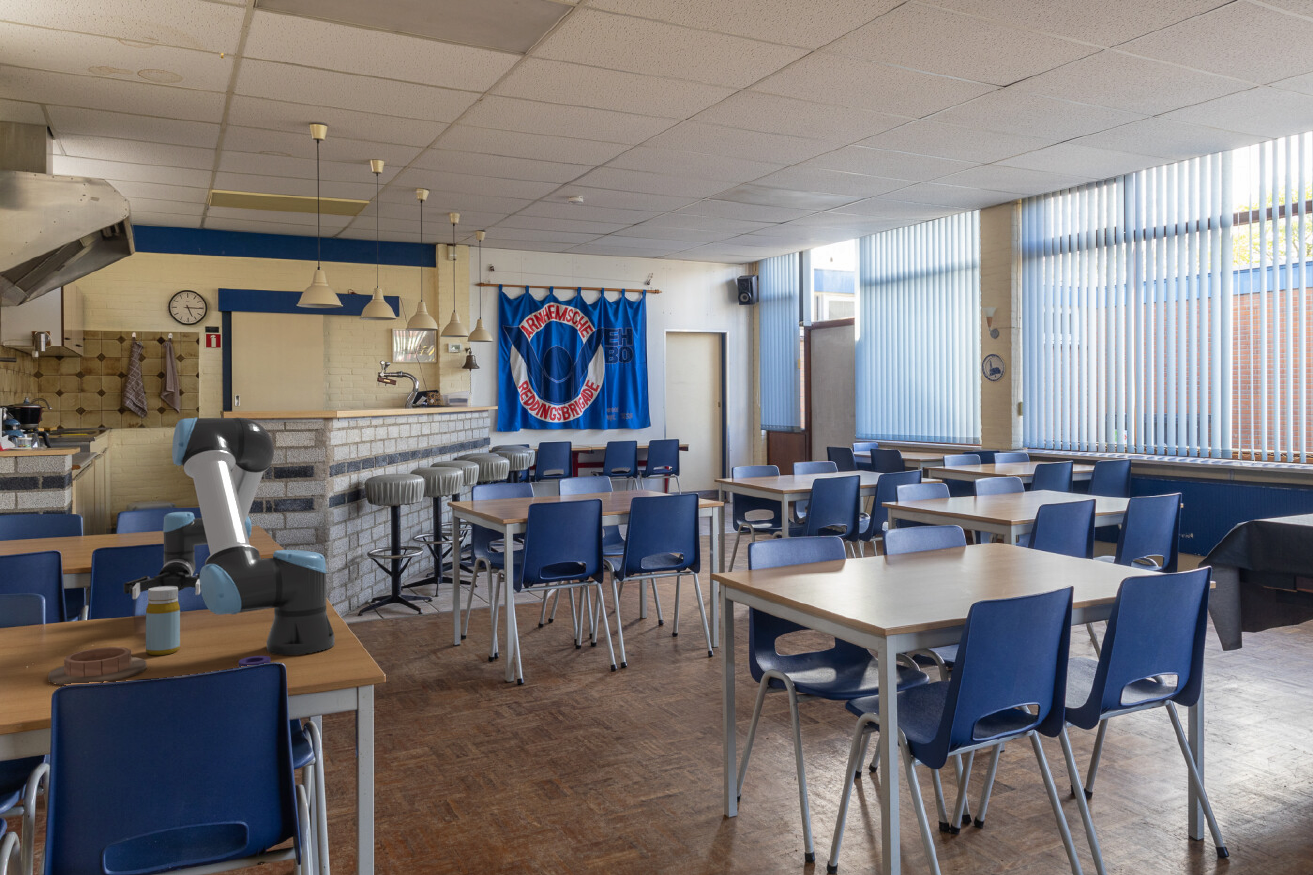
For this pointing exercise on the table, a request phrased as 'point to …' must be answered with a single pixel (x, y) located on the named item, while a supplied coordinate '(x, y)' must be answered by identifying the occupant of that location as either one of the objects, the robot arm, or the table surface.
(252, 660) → the lever
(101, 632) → the table surface
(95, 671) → the bottle holder
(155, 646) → the bottle
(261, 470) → the robot arm
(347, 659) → the table surface
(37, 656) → the table surface
